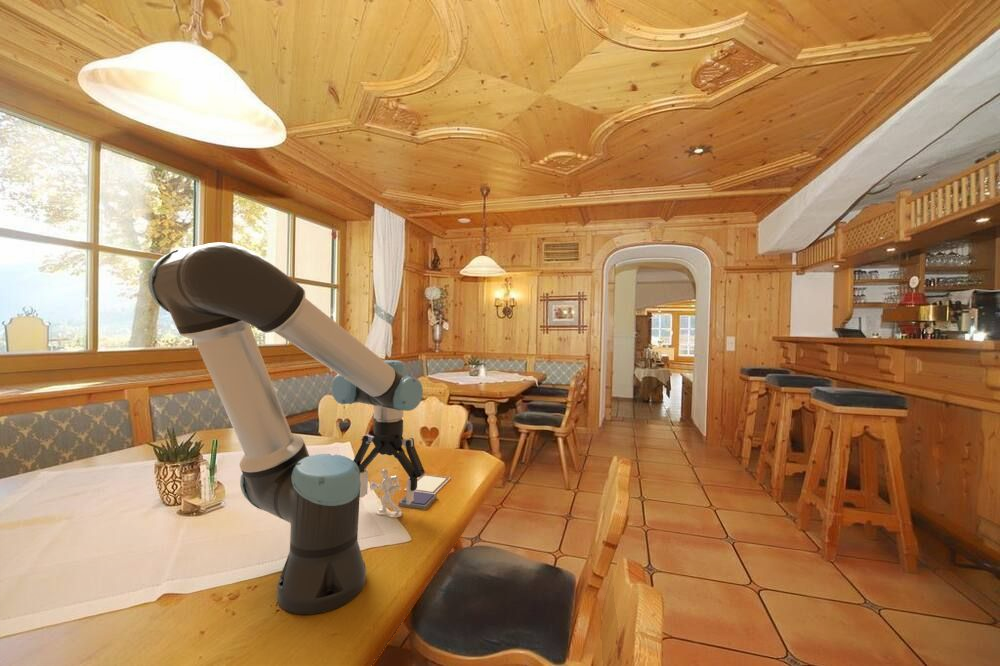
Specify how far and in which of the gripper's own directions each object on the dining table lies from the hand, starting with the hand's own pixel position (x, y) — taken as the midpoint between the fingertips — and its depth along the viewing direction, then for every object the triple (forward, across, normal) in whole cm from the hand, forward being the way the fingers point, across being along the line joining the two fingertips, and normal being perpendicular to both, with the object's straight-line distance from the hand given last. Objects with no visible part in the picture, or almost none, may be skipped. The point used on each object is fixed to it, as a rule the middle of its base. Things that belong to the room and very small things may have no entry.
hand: (386, 499), depth 104 cm
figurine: (+4, 0, 0) cm, 4 cm away
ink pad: (+4, -5, -9) cm, 11 cm away
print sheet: (+4, -2, -22) cm, 23 cm away
